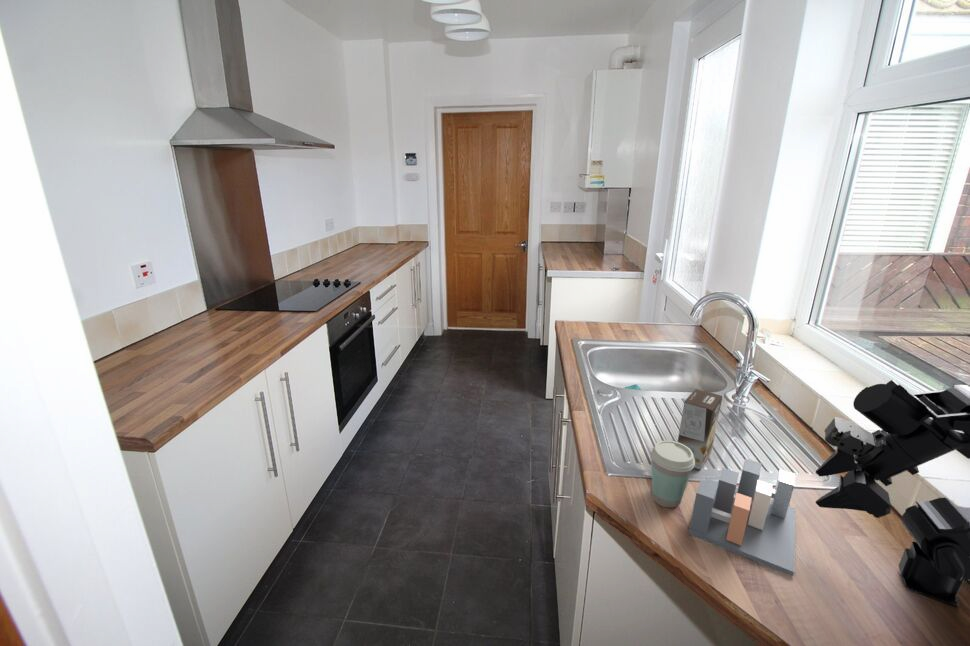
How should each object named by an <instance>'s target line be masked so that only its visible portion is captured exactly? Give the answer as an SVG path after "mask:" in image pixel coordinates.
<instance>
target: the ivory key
mask: <svg viewBox="0 0 970 646" xmlns="http://www.w3.org/2000/svg"><path fill="white" fill-rule="evenodd" d="M772 489H773V484H772V483H770V482H766V481H764V480H762V479H761V480H760V479H759V480H757V484H756V488H755V493H754V497H753V501H752V500H751V505H750V514H749V520H748V525H750V526H753V527H755V528H758V529H761V530H763V527H764V523H765V519H766V515H767V511H768V507H769V503H770V500H772V498H771V494H772ZM735 497H736V495H735V494H734V498H733V503H734V501H735Z"/></svg>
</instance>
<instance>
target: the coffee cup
mask: <svg viewBox="0 0 970 646" xmlns="http://www.w3.org/2000/svg"><path fill="white" fill-rule="evenodd" d="M650 457H651V497H652V499H653V500H654V502H656V503H657V504H658V505H660V506H661V507H665V508H676V507H679V506H680V505H681V502H682V499H683V497H684V494H685V491H686V488H687V485H688V481H689V479H690V476H691V473H692V470H693V469H694V466H695V459H694V456H693V452H692V451H691V450H690V449H689V448H688V447H687V446H685V445H683V444H681V443H678V441H676V440H675V441H674V440H661V441H660V440H659V441H658V442H656V444H655V445H654V446H653V448H652V449H651V452H650Z"/></svg>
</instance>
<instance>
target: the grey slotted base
mask: <svg viewBox="0 0 970 646" xmlns="http://www.w3.org/2000/svg"><path fill="white" fill-rule="evenodd" d="M742 466H743V467H742V471H741V475H740V479H739V474H740V472H738V471H735V470H733V469H732V470H731V469H729V468H725V467H721V472H720V475H719V480H718V481H715V480H713V479H711V478H707V477H705V479H704V480H703V479H700V481H699V484H698V485H697V486H698V487H697V489H696V492H695V499H694V504H693V508H692V514H691V519H690V520H691V521H690V525H689V530H688V535H689V534H690V536H692V537H694V538H697V539H699V540H702V541H704V542H707V543H709V544H712V545H714V546H717V547H719V548H722V549H723V550H726V551H729V552H731V553H734V554H737V555H739V556H741V557H744V558H746V559H749V560H752V562H756V563H759V564H760V565H764V566H766V567H767V568H768V567H769V568H770V569H773V570H776V571H778V572H780V573H783V574H786V575H788V576H790V577H794V574H795V557H796V555H795V552H796V551H795V549H796V518H797V517H796V512H797V508H795V507H793V506H791V505H789V507H788V510H787V514H786V517H785V518H782V517H779V516H777V515H774V514H771V503H772V499H770V503H769V507H768V511H767V515H766V519H765V523H764V527H763V530H761V529H758V528H755V527H753V526H750V525H748V520H749V515H748V519H747V524H746V528H745V532H744V536H743V540H742V544H741V545H738V544H736V543H733V542H731V541H728V540H726V538H727V533H728V528H729V524H730V523H727V522H724V521H722V520H719V519H716V518H714V517H711V512H712V508H715V509H718V510H721V511H723V512H726V513H729V514H732V510H733V506H734V503H733V498H734V494H735V495H736V493H739V494H742V495H745V496H748V497H751V498H752V499H751V500H752V501H753V497H754V493H755V488H756V484H757V480H760V477H761V468H762V462H758V461H755V460H753V459H748V458H744V460H743V465H742ZM738 480H739V484H738ZM737 484H738V488H737ZM749 514H750V511H749Z"/></svg>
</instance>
